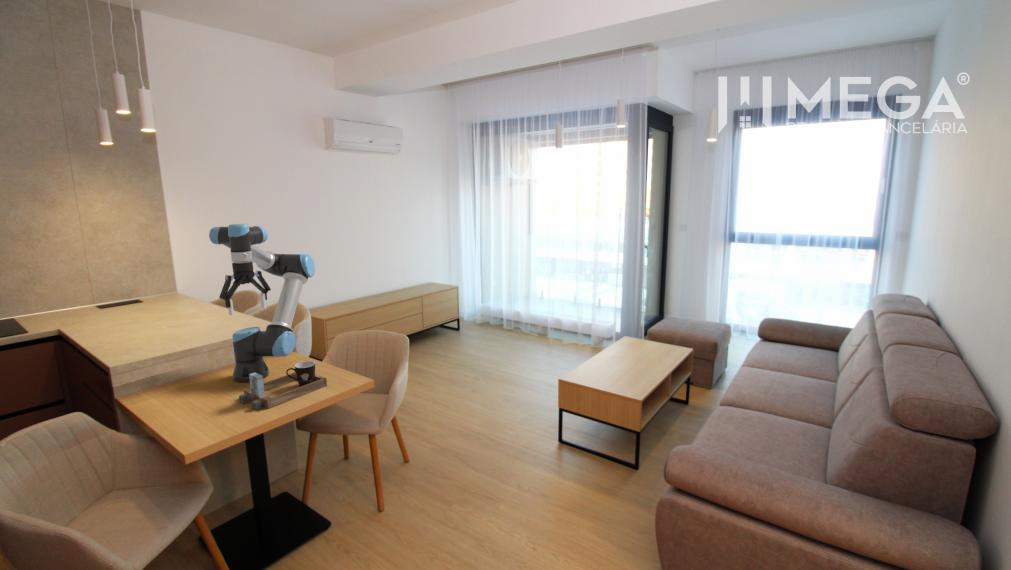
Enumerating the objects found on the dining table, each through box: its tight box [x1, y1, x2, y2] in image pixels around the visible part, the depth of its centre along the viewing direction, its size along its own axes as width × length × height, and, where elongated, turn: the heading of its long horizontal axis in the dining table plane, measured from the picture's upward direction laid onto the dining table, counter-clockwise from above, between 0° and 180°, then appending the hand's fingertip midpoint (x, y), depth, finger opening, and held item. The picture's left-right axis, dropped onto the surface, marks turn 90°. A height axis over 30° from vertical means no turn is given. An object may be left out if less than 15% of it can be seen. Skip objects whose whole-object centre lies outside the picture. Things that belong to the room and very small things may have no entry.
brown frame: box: [243, 371, 328, 409], centre depth 208 cm, size 18×28×12 cm
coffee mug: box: [286, 360, 316, 388], centre depth 215 cm, size 12×9×10 cm
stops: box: [238, 393, 262, 411], centre depth 196 cm, size 13×2×3 cm, turn 56°
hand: (248, 311), depth 201 cm, fingers open, 13 cm apart
